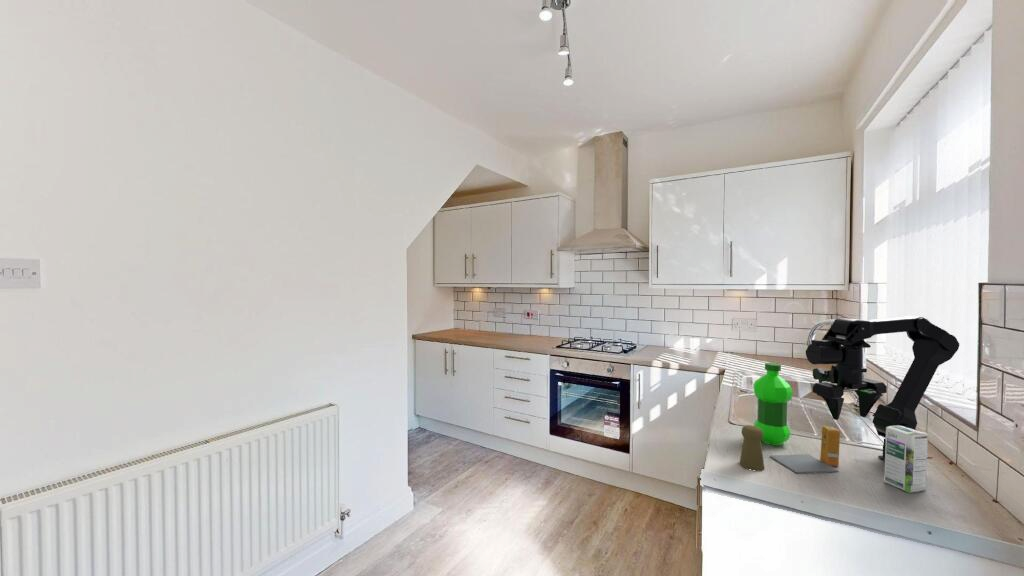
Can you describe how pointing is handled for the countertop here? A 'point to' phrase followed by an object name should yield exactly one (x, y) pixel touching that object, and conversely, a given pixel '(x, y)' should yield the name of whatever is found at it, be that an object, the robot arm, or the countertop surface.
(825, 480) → the countertop surface
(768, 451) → the countertop surface
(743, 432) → the cork
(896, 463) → the syrup box
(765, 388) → the plastic bottle
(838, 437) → the supplement box
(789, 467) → the rubber mat
